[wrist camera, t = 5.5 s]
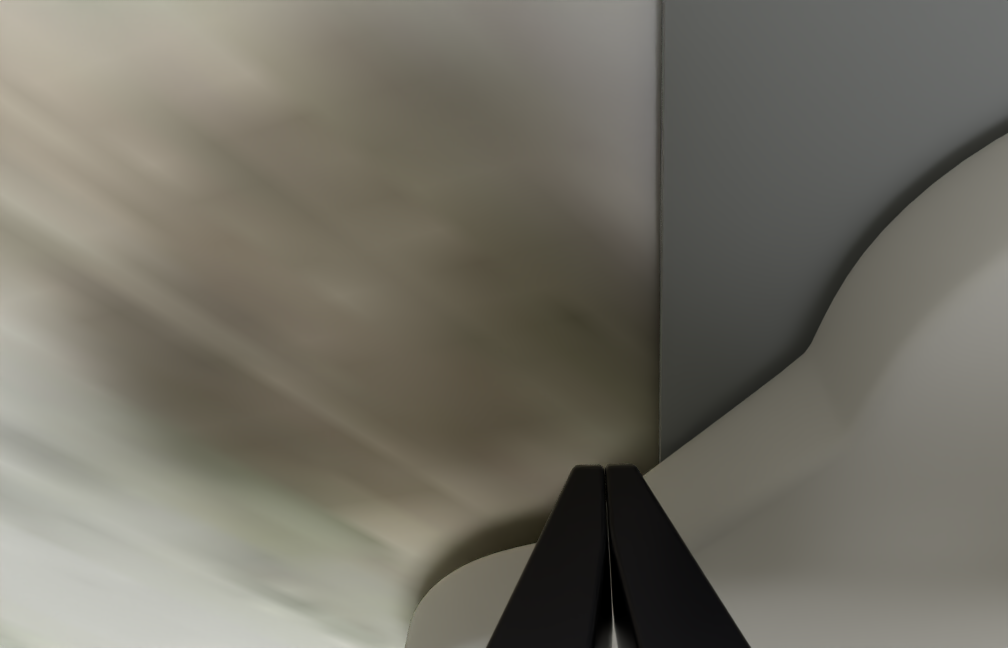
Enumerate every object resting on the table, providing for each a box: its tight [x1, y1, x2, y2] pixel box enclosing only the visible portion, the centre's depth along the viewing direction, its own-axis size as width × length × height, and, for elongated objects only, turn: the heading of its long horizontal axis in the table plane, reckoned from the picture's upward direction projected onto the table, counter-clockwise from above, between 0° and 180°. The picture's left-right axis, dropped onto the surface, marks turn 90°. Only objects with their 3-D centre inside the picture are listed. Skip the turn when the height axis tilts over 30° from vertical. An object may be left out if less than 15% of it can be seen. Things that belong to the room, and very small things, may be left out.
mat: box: [659, 0, 1008, 463], centre depth 11 cm, size 8×13×1 cm, turn 7°
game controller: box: [405, 133, 1008, 648], centre depth 12 cm, size 20×2×8 cm
